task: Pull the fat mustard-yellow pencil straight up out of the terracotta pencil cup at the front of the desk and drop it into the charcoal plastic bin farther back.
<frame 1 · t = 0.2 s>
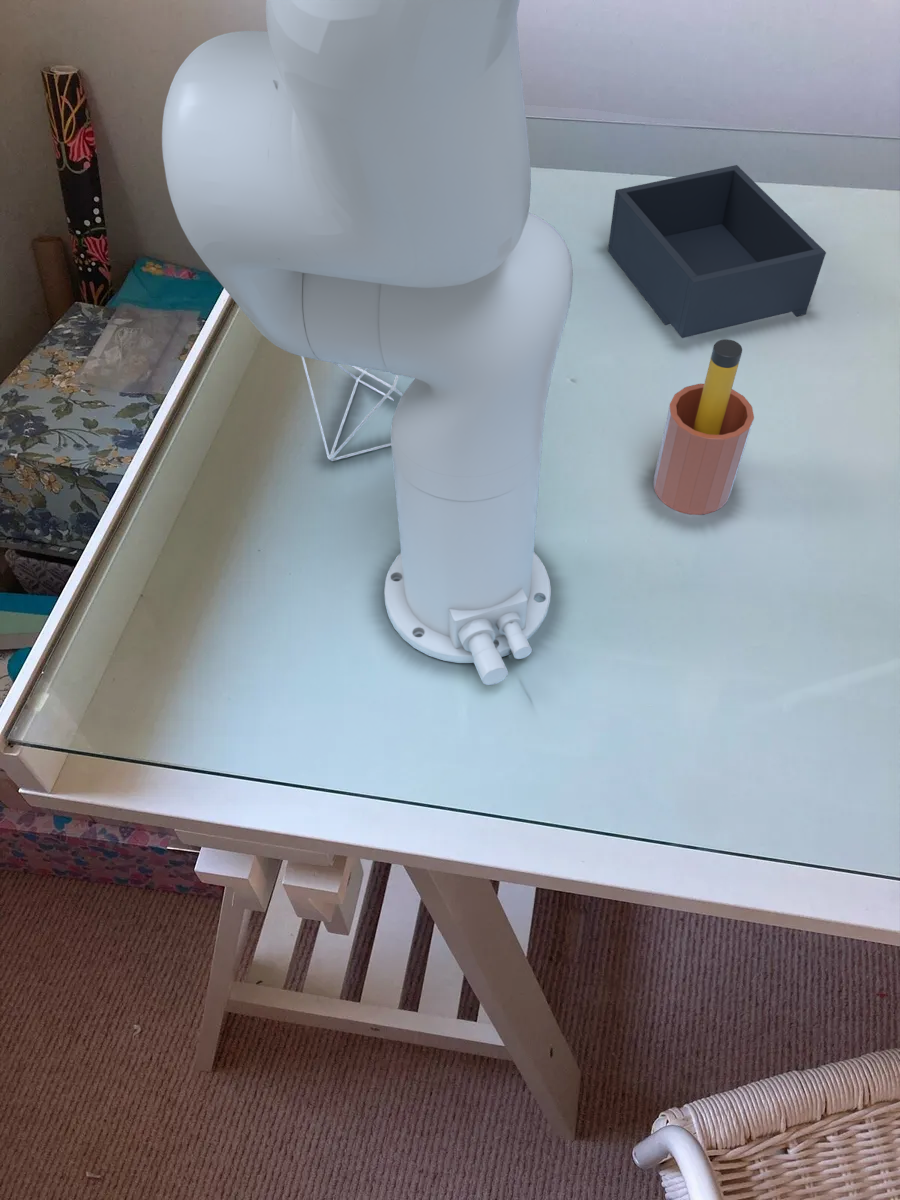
pencil cup: (690, 493, 79), on the table
pencil: (691, 486, 79), point 1 cm above the table, touching pencil cup
geometric polyhedron: (378, 425, 85), on the table
bin: (703, 281, 97), on the table
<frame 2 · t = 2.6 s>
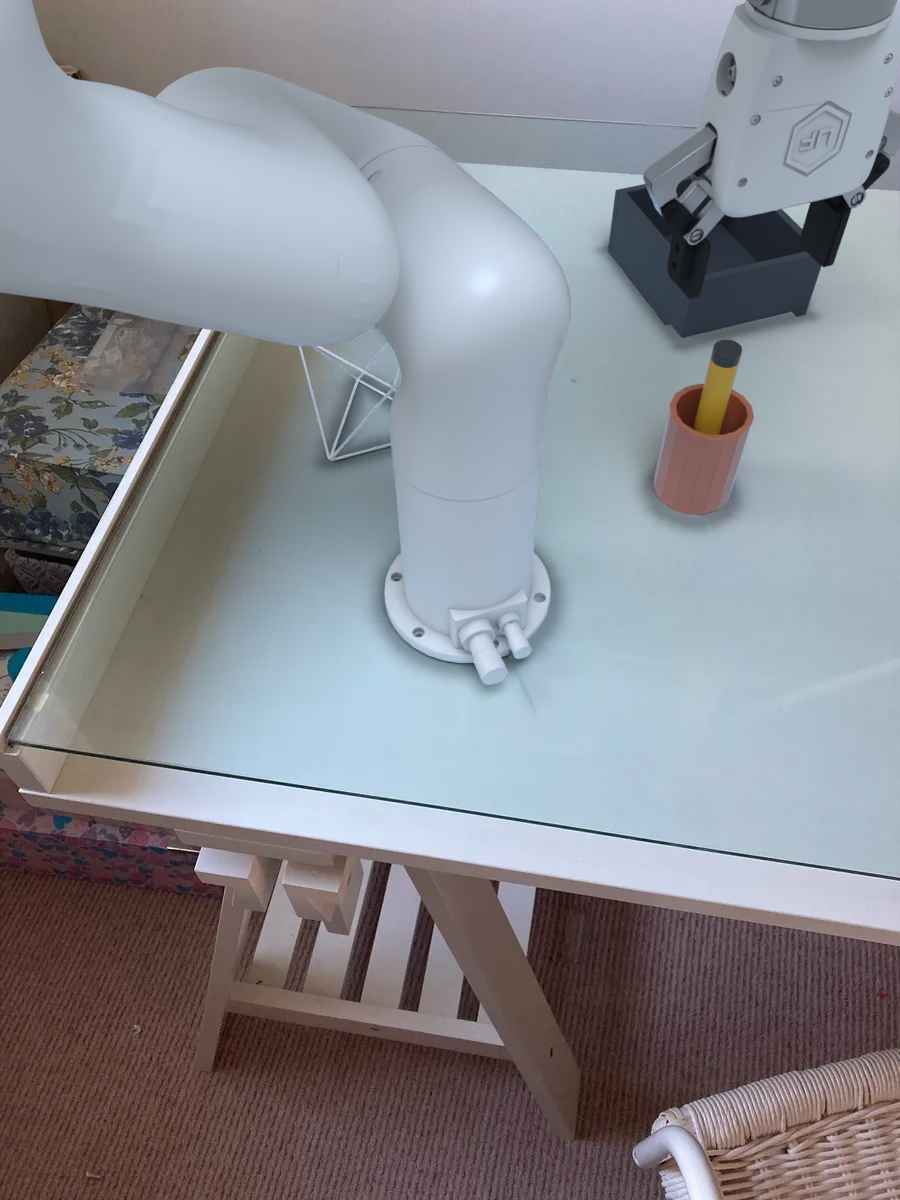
hand: (750, 270, 63), 21 cm above the table, tool pointing down, fingers open, 9 cm apart
nothing on the table moved.
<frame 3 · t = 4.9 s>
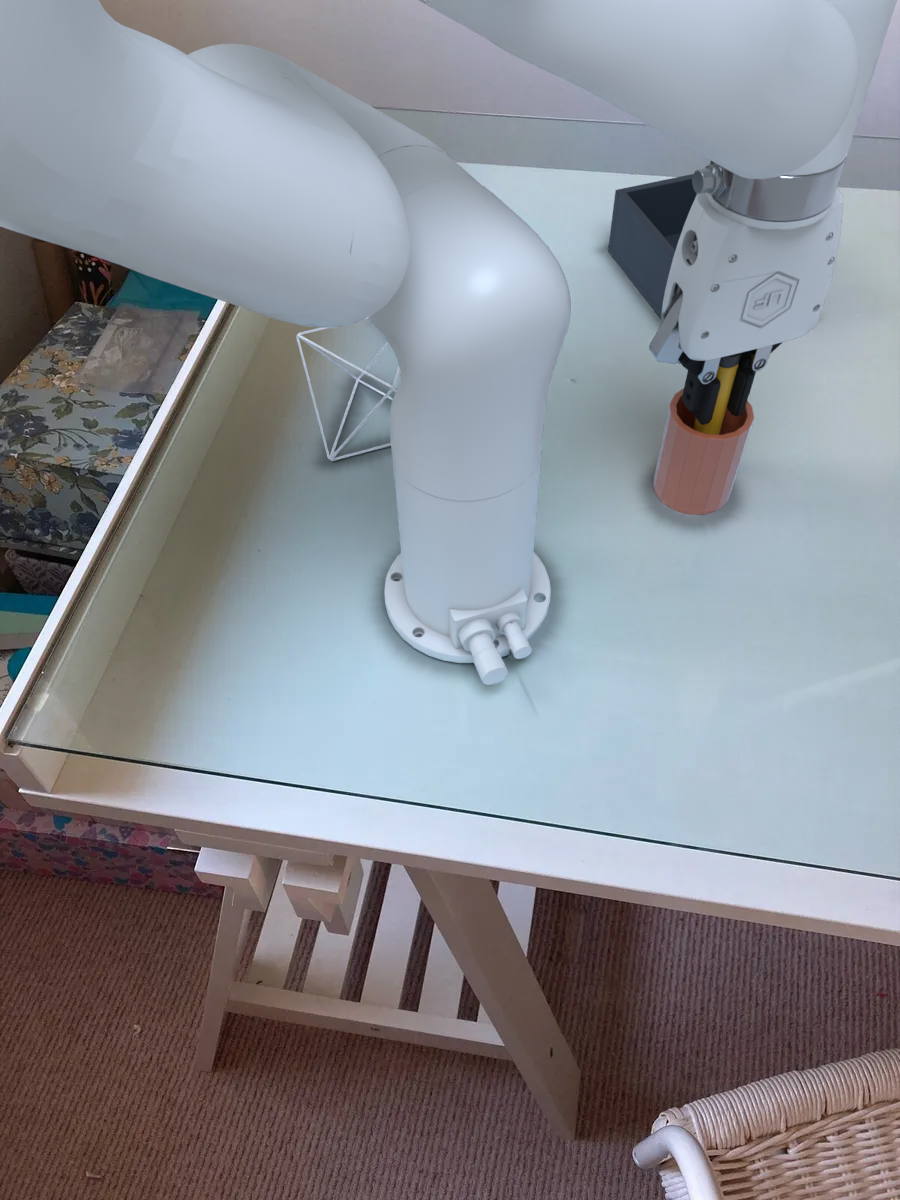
hand: (712, 406, 72), 9 cm above the table, tool pointing down, fingers closed on pencil, 2 cm apart
pencil: (691, 486, 79), point 1 cm above the table, touching gripper
everything else where it was.
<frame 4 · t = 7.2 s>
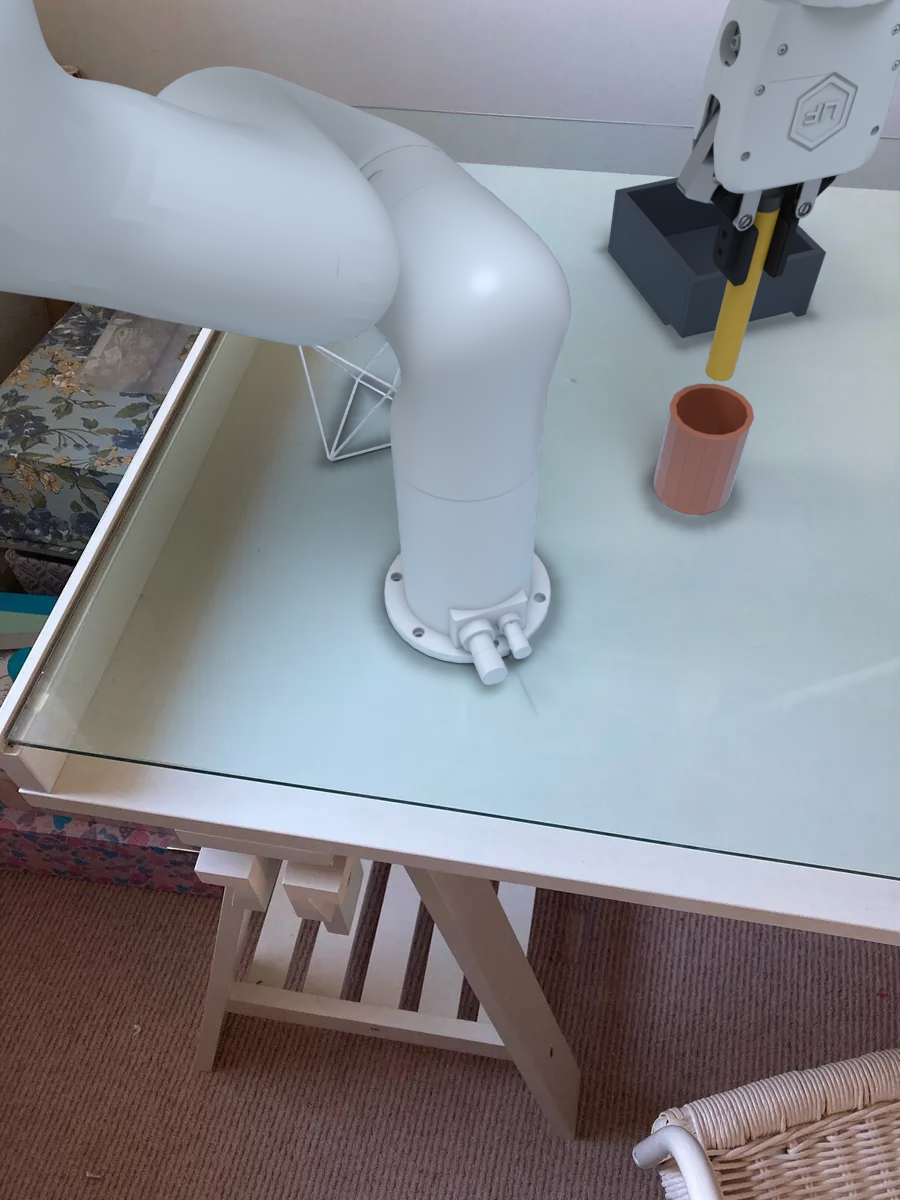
hand: (747, 268, 63), 21 cm above the table, tool pointing down, fingers closed on pencil
pencil: (719, 372, 69), point 13 cm above the table, touching gripper
everything else where it was.
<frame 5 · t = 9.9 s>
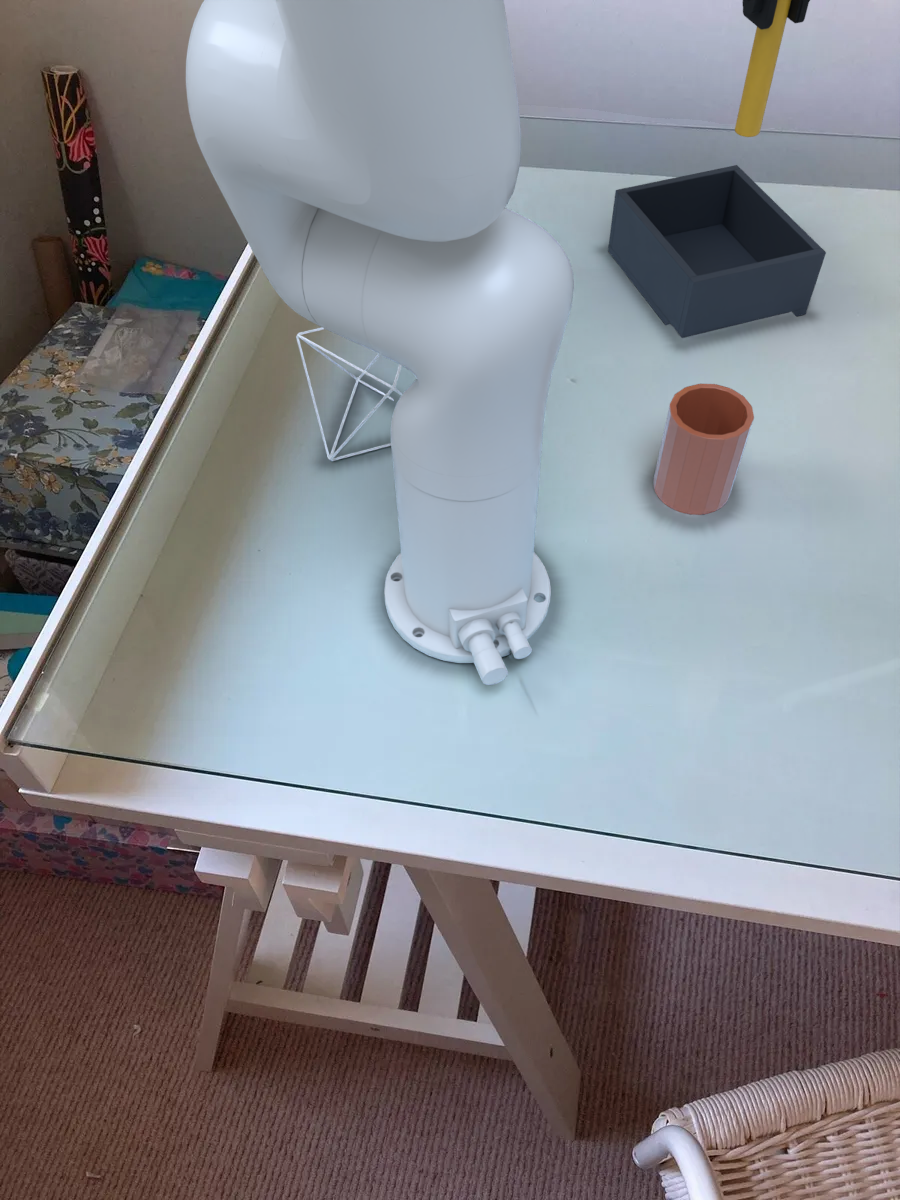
hand: (772, 16, 71), 28 cm above the table, tool pointing down, fingers closed on pencil
pencil: (747, 131, 78), point 19 cm above the table, touching gripper
everything else where it was.
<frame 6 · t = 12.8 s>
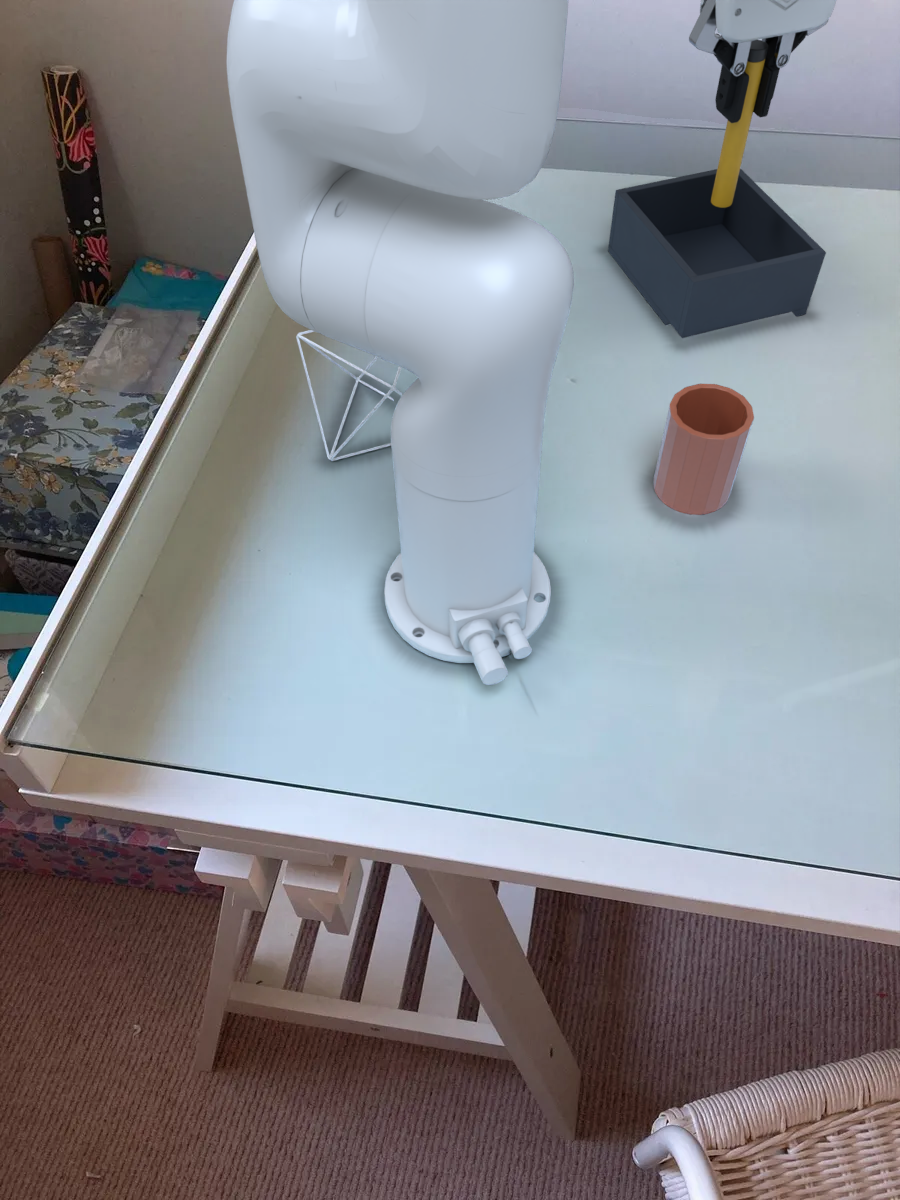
hand: (741, 111, 84), 17 cm above the table, tool pointing down, fingers closed on pencil
pencil: (721, 202, 91), point 9 cm above the table, touching gripper
everything else where it was.
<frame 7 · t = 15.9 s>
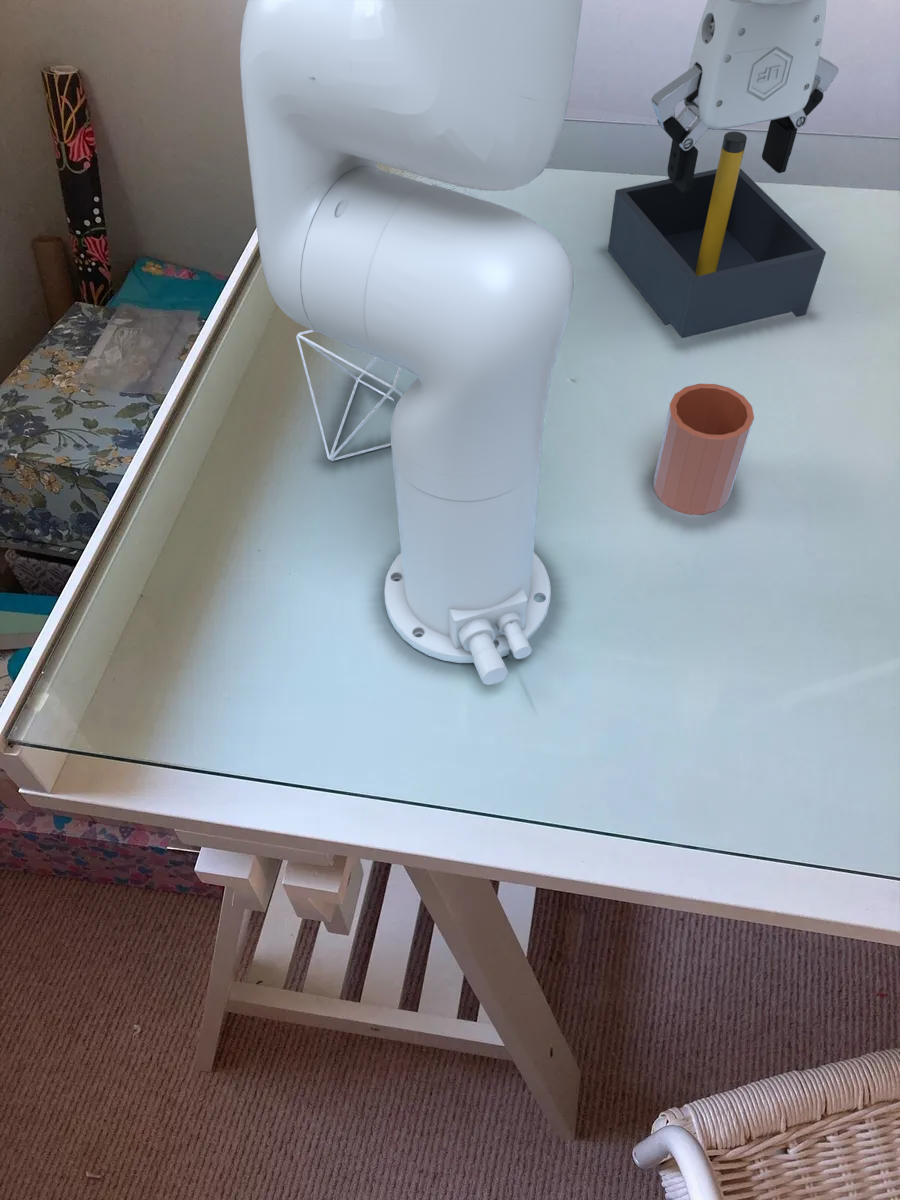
hand: (726, 175, 88), 11 cm above the table, tool pointing down, fingers open, 9 cm apart
pencil: (705, 274, 97), point 1 cm above the table, touching bin
everything else where it was.
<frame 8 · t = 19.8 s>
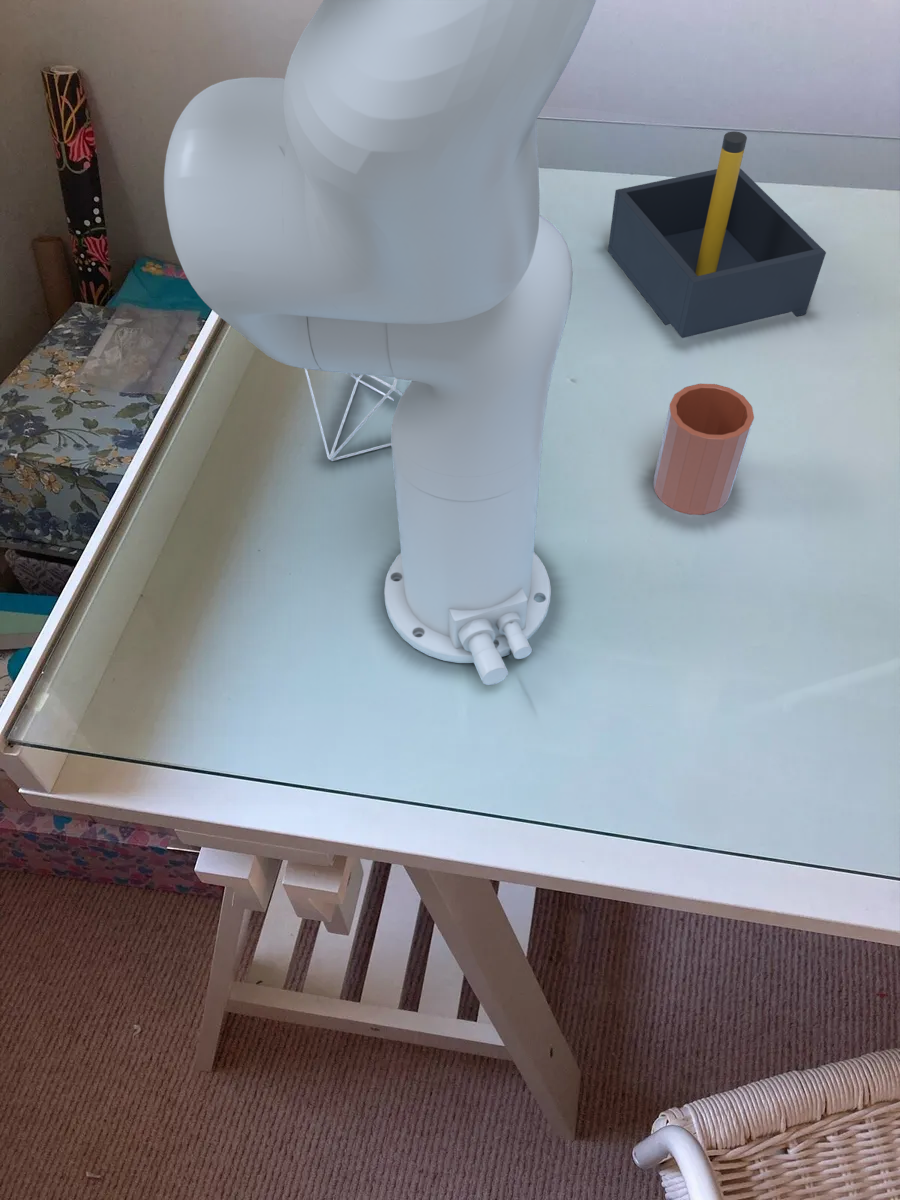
hand: (531, 0, 67), 30 cm above the table, tool pointing down, fingers open, 9 cm apart
nothing on the table moved.
at the end: pencil inside the target area in the bin (0.1 cm from its centre), point 0.8 cm above the bin's base; the gripper is holding nothing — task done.
